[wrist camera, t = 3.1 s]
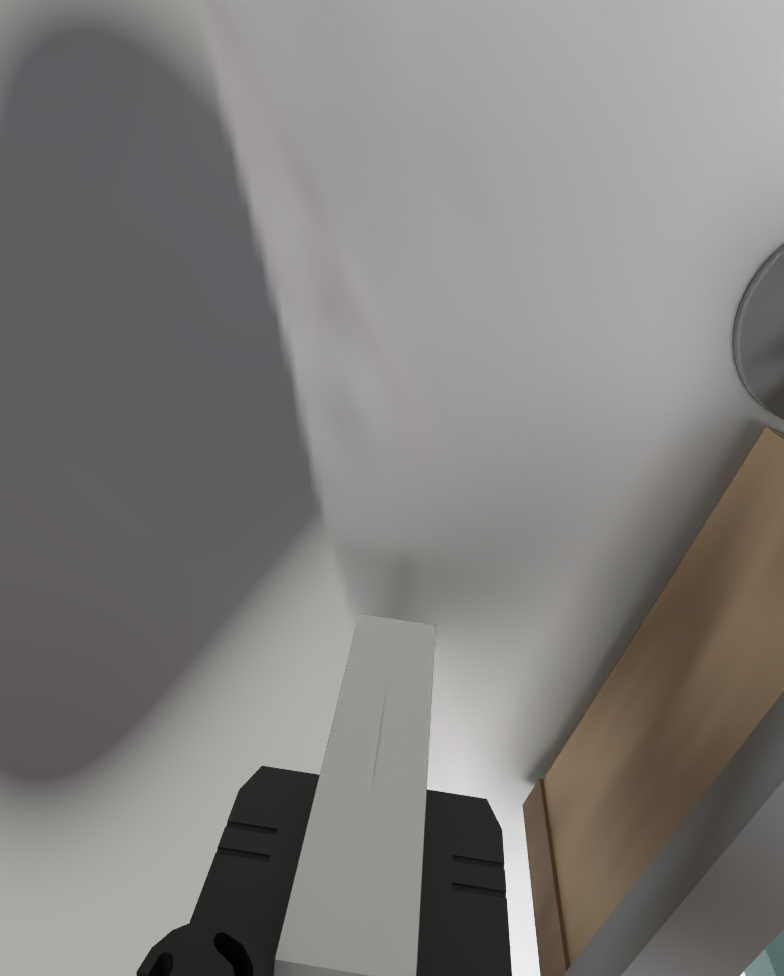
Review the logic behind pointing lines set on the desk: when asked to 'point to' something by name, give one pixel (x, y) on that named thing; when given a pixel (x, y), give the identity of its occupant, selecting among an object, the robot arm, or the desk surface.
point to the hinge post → (763, 335)
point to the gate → (678, 767)
